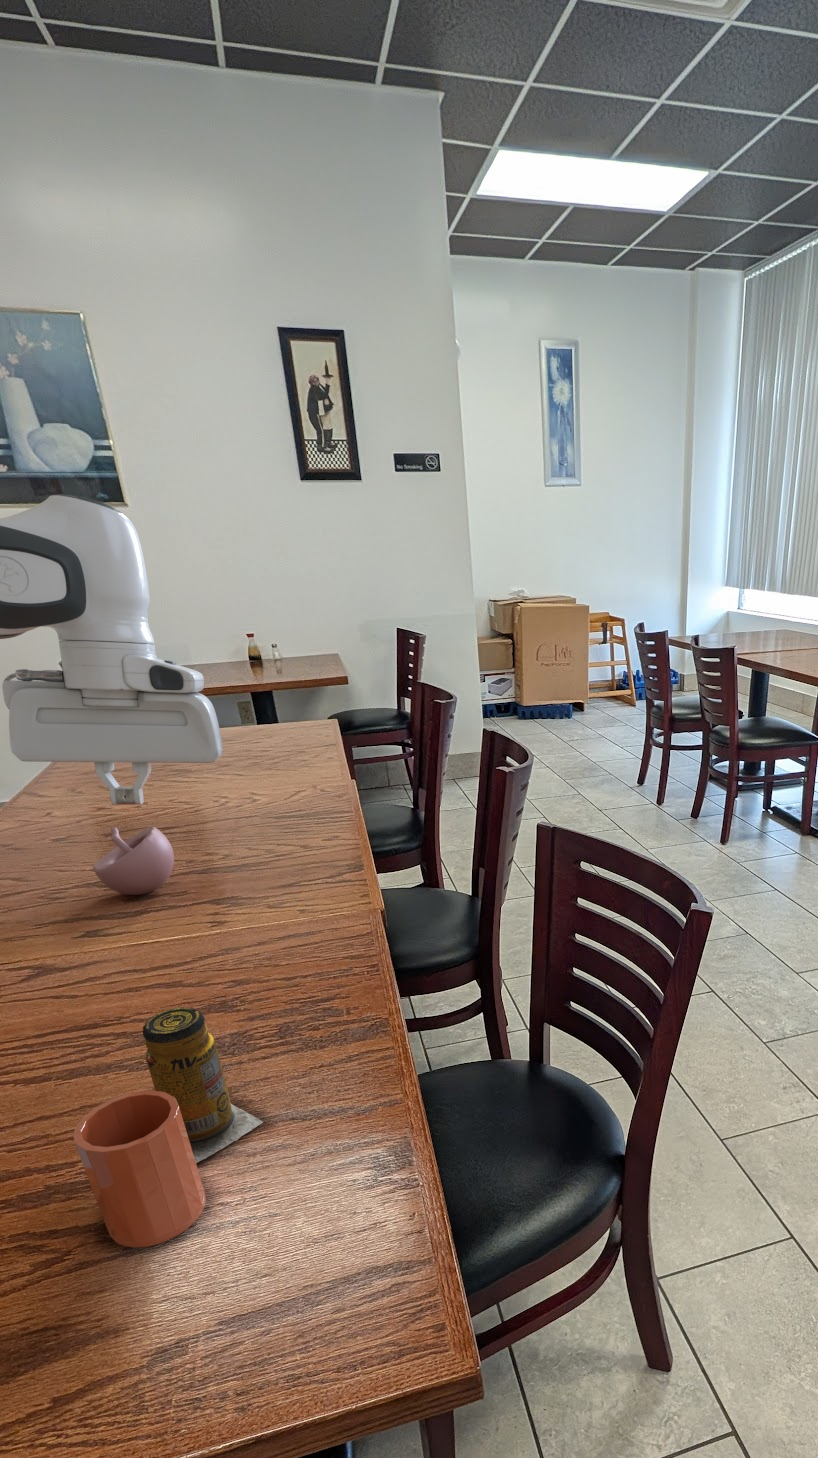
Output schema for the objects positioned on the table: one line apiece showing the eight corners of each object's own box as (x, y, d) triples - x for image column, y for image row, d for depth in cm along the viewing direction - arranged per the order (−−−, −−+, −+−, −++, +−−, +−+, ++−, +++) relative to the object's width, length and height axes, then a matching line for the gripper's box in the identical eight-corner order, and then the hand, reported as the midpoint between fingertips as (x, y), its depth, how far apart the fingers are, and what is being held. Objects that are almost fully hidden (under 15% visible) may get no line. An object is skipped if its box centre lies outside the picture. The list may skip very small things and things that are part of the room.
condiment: (213, 1094, 85) (186, 994, 80) (263, 1123, 80) (238, 1019, 75) (147, 1133, 80) (112, 1028, 74) (196, 1166, 75) (163, 1057, 70)
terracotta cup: (97, 1255, 66) (59, 1158, 61) (122, 1190, 73) (89, 1098, 68) (197, 1237, 67) (167, 1141, 63) (212, 1175, 74) (186, 1084, 70)
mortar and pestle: (108, 885, 140) (88, 820, 135) (183, 874, 143) (167, 810, 138) (98, 911, 129) (76, 842, 124) (179, 899, 133) (162, 831, 128)
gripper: (-14, 668, 81) (10, 808, 85) (209, 675, 85) (221, 808, 90) (10, 668, 86) (31, 799, 91) (218, 675, 91) (229, 799, 95)
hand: (128, 804), depth 90 cm, fingers closed
